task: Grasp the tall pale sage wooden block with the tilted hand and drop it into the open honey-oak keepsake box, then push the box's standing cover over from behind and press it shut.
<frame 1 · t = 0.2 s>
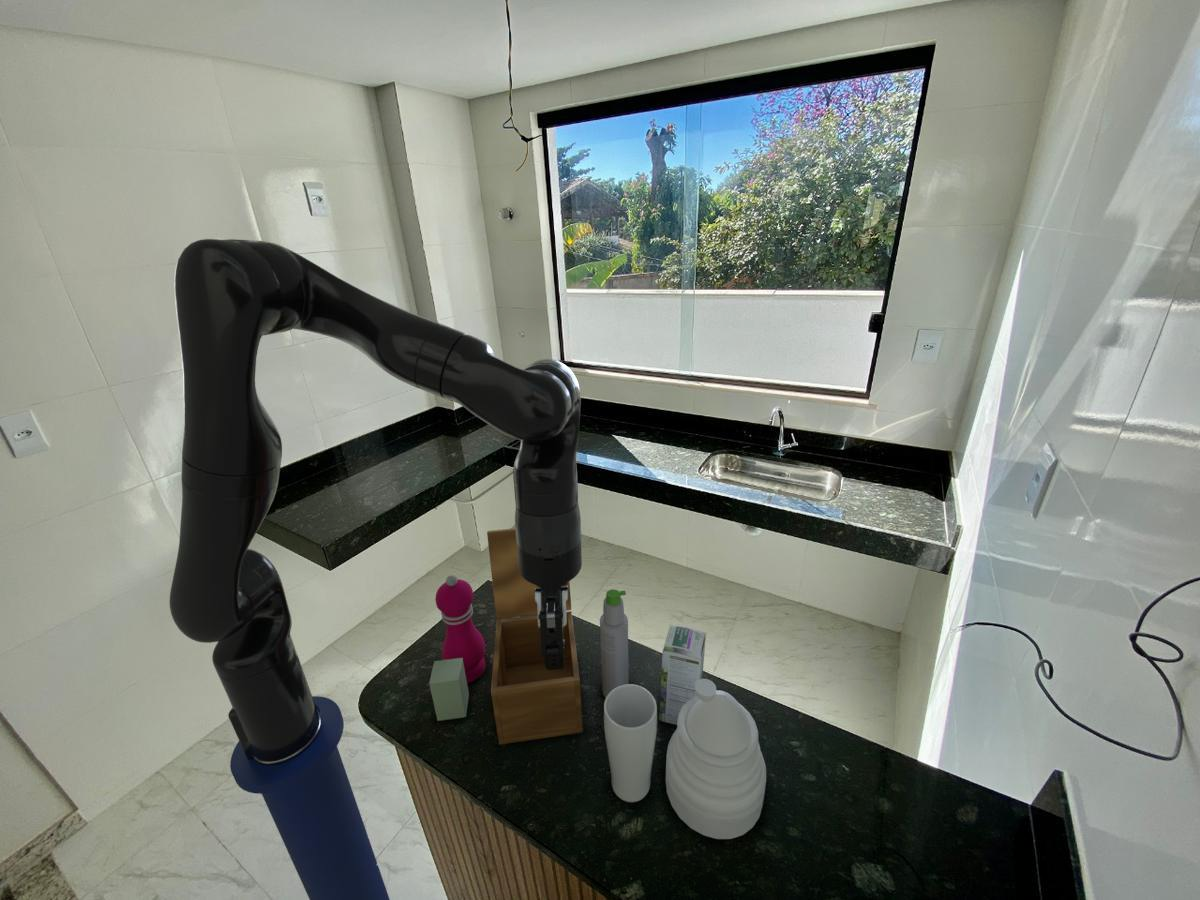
hand: (554, 640, 63), 21 cm above the counter, tool pointing down, fingers open, 8 cm apart
block: (453, 707, 78), on the counter
keepsake box: (540, 697, 80), on the counter
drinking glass: (630, 785, 66), on the counter
bottle: (615, 691, 80), on the counter
honey pot: (713, 787, 66), on the counter
cover: (530, 571, 80), point 19 cm above the counter, hinge at 100.0°
syrup box: (680, 711, 77), on the counter
pepper mill: (467, 670, 86), on the counter
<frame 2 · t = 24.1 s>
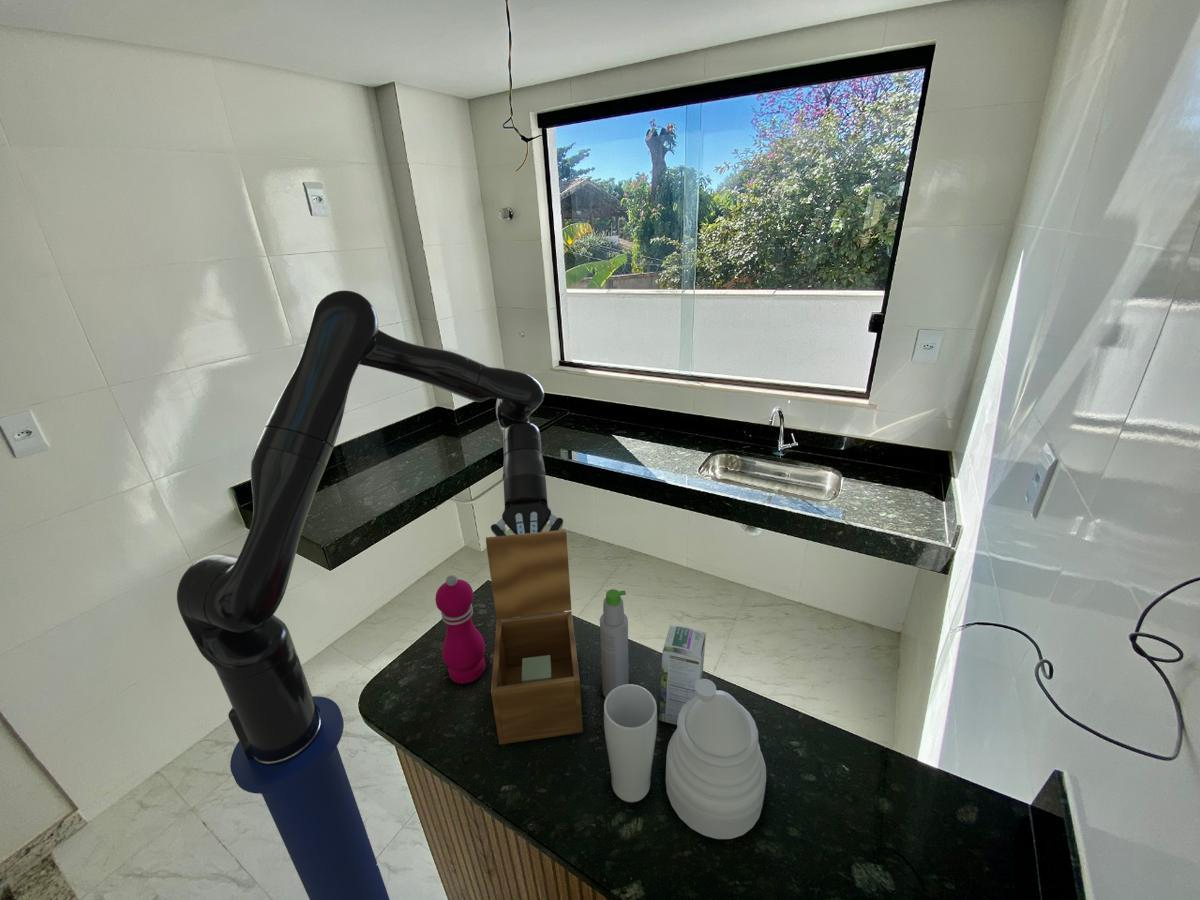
hand: (530, 577, 81), 18 cm above the counter, tool tilted 45°, fingers closed
block: (540, 705, 77), point 1 cm above the counter, touching keepsake box
cover: (530, 575, 79), point 19 cm above the counter, hinge at 90.9°, touching gripper
everything else where it was.
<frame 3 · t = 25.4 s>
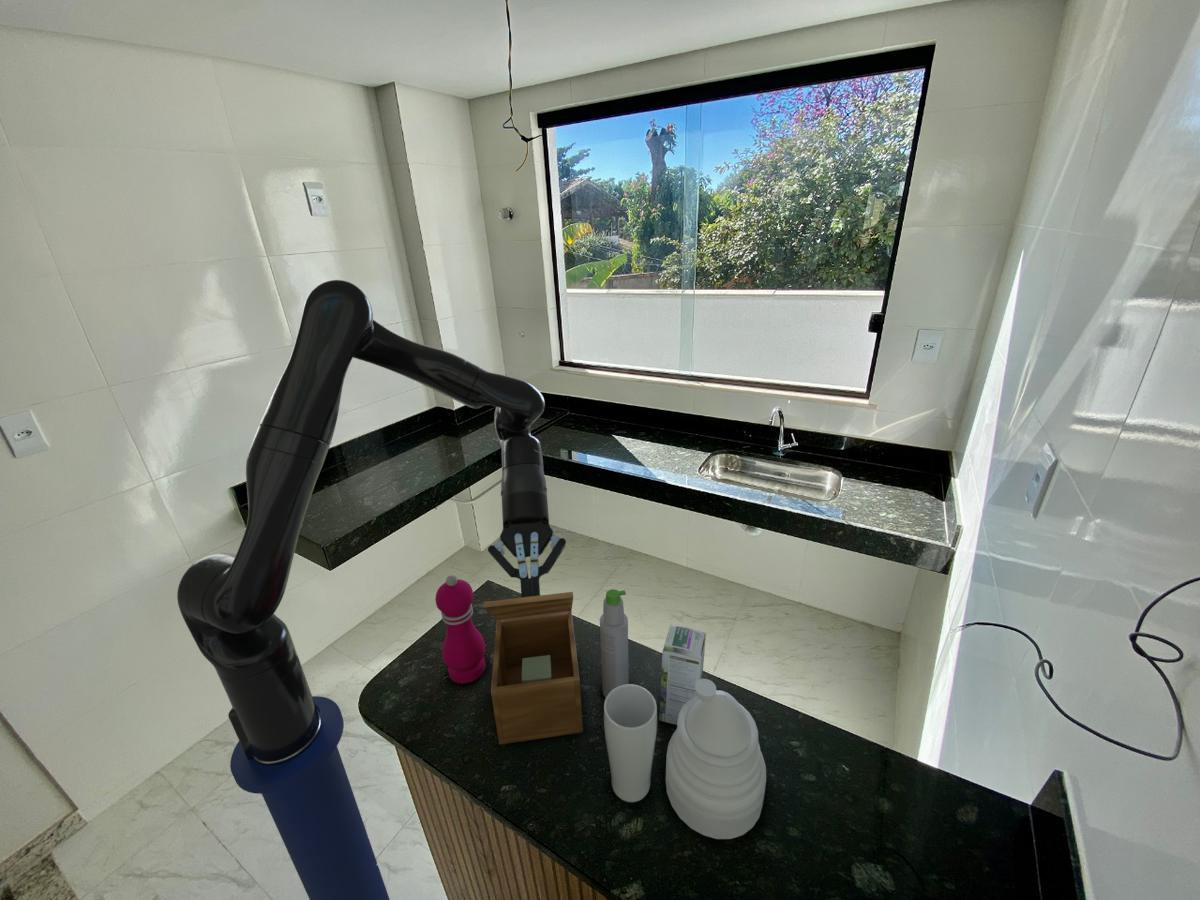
hand: (531, 603, 75), 18 cm above the counter, tool tilted 45°, fingers closed
cover: (531, 607, 75), point 17 cm above the counter, hinge at 47.5°, touching gripper
everything else where it was.
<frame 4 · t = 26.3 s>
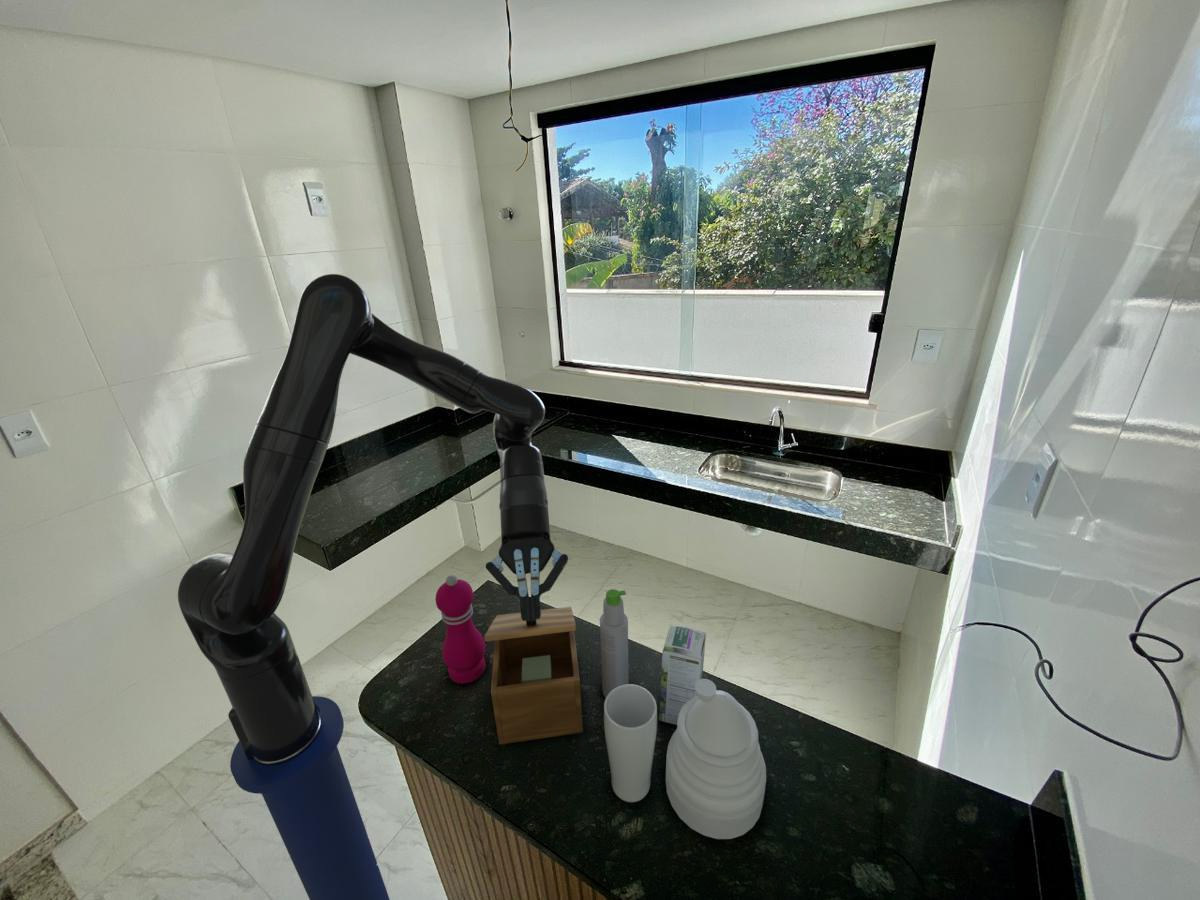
hand: (531, 623, 70), 18 cm above the counter, tool tilted 45°, fingers closed
cover: (532, 622, 74), point 15 cm above the counter, hinge at 30.8°, touching gripper
everything else where it was.
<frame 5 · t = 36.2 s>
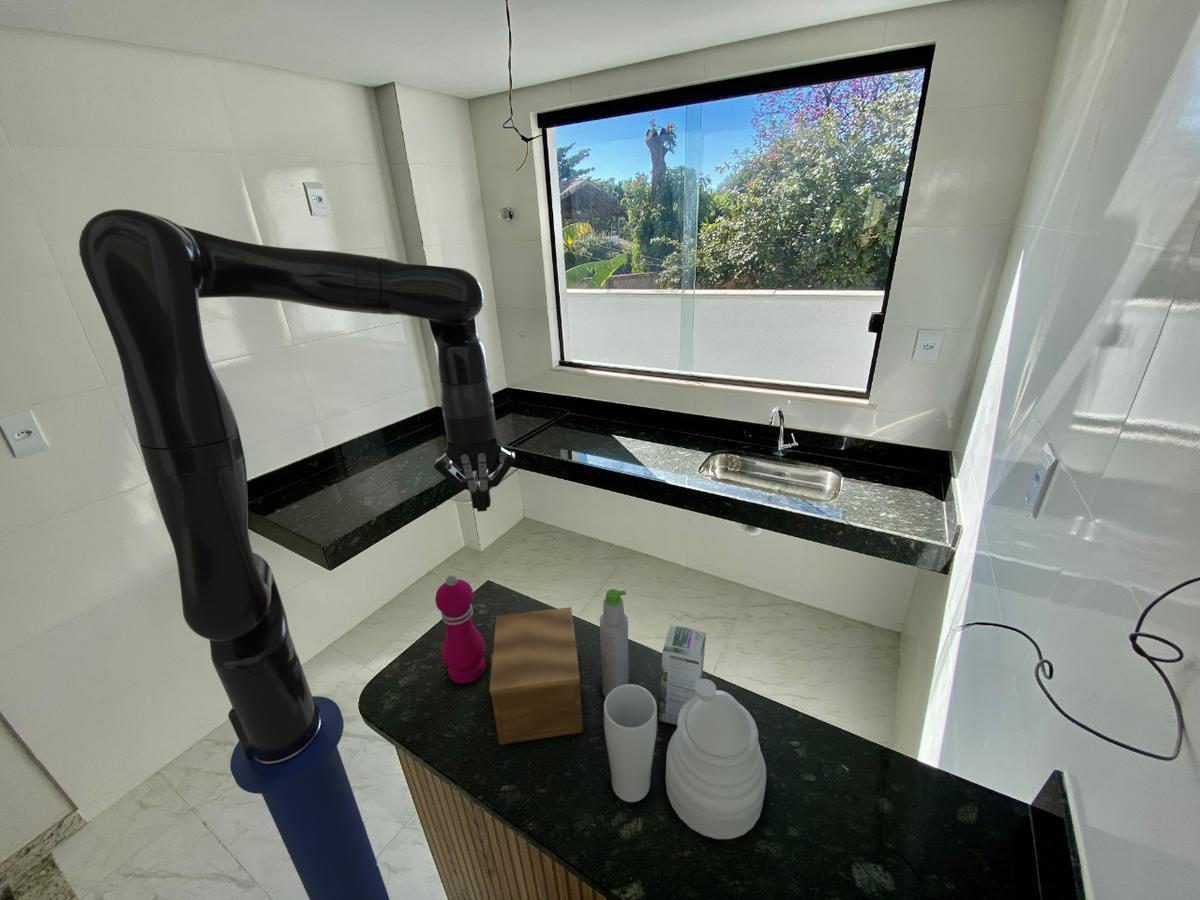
hand: (482, 508, 80), 29 cm above the counter, tool pointing down, fingers closed
cover: (534, 646, 75), point 11 cm above the counter, hinge at 1.3°
everything else where it was.
at the end: block inside the target area in the keepsake box (2.1 cm from its centre), point 0.8 cm above the keepsake box's base; cover at +1° (first picture: +100°) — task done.
